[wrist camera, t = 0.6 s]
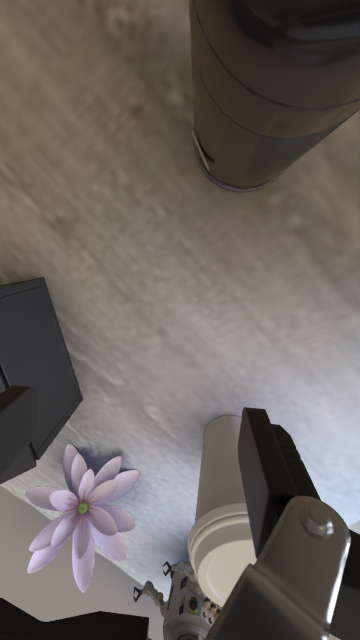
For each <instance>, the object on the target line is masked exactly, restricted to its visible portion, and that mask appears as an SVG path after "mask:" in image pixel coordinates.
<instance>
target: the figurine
mask: <svg viewBox="0 0 360 640" xmlns="http://www.w3.org/2000/svg"><path fill="white" fill-rule="evenodd" d="M166 564H167V566H168V568H169V569H168V570H167V572H166V573H165V572H164V571H163V572H164V575H165V576H166V575H167V574H168V573H169V572H170V571H171V579H172V584H171V590H170V594H169V599H168V601H166V602H165V603H164V601H163V594H162V593H161V592H159V593H158V591H157V590H156V589H155V588H154V586H153V584H152V582H150V581H147V582H146V584H145V586H144V588H143V589H142V590H139V589H137V588H136V587H134V593H135V590H136V591H137V592H138V593H139V594H138V596H137V598H135V597H134V596H133V597H134V600H135V602H136V601H137V600H138V598H139V597H140V595H143V594H145V593H146V594H147V595H148V596H151V598H152V599H153V600H154V603H155V605H156V606H159V607H160V608H161V609H160V610H161V614H162V616H163V617H164V623H163V636H164V640H204V639H205V637H206V635H207V634H208V632H209V630H210V628H211V627H212V625H213V623H214V621H215V620H216V618H217V616H218V614H219V613H220V611H221V609H222V607H221V606H219V605H217V604H216V603H214V602H213V601H211V600H210V599H209V598H208V597H207V596H206V595H205V594H204V592H203V591H202V589H201V587H200V585H199V582H198V578H197V576H196V574H195V572H194V570H193V568H192V565H191V562H190V561H187V562H186V563H185V562H184V561H180V562H179V563H178V565H176V566H174V565H173V566H172V567H171V566H170V564H169V563H168V562H166V563H165V564H164V565H163V566H165V565H166Z"/></svg>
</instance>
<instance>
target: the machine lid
mask: <svg viewBox="0 0 360 640" xmlns="http://www.w3.org/2000/svg"><path fill="white" fill-rule="evenodd" d="M6 389H7V388H6V386H5V383H4V381H3V378H2V376H1V373H0V394H1V393H2V392H3V391H5V390H6ZM34 467H36V460H35V458H34V455H33V453H32V450H31V448H30V445H28V446H27V447H26V448H25V449H24V451H23V452H22V453H21V454H20V455H19V457H18V458H17V459H16V460H15V461H14V462H13V464H12V465H11V466H10V467H9V468H8V470H7V471H6V472H5V473H4V474H3V476H2V477H1V478H0V484H2V483H4V482H6V481H8V480H10V479H12V478H14V477H16V476H18V475H20V474H22V473H24V472H26V471H28V470H30V469H32V468H34Z"/></svg>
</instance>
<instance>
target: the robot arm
mask: <svg viewBox="0 0 360 640" xmlns="http://www.w3.org/2000/svg"><path fill="white" fill-rule="evenodd" d="M189 18H190V34H191V58H192V82H193V105H194V133H193V130H192V136H193V138H194V148H195V153H196V157H197V160H198V162H199V165H200V166H201V168H202V170H203V171H204V173H205V174H206V175H207V177H208V178H209V179H210V180H211V181H212V182H214V183H215V184H216V185H218V186H220V187H222V188H224V189H226V190H229V191H233V192H249V191H254V190H257V189H260V188H262V187H264V186H266V185H268V184H269V183H271V182H272V181H273V180H275V179H276V178H277V177H278V176H280V175H281V174H282V173H283V172H284V170H286V169H287V168H288V167H289V166H291V165H292V164H293V163H294V162H296V161H297V160H298V159H299V158H300V157H302V156H303V155H304V154H305V153H307V152H308V151H309V150H310V149H312V148H313V147H314V146H315V145H316V144H318V143H319V142H320V141H321V140H323V139H324V138H325V137H326V136H328V135H329V134H330V133H331V132H333V131H334V130H335V129H336V128H337V127H339V126H340V125H341V124H342V123H344V122H345V121H346V120H347V119H349V118H350V117H351V116H352V115H353V114H355V113H356V112H357V111H358V110H360V0H189ZM38 427H39V414H38V404H37V394H36V390H35V388H34V387H28V386H17V385H12V386H10V387H9V388H7V389H6V390H5V391H3V392H2V393H1V394H0V478H1V477H2V476H3V474H4V473H5V472H6V471H7V470H8V468H9V467H10V466H11V465H12V464H13V462H14V461H15V460H16V459H17V458H18V457H19V455H20V454H21V453H22V452H23V451H24V449H25V448H26V447H27V446H28V445H29V443H30V442H31V441H32V440H33V439H34V437H35V435H36V433H37V431H38ZM238 461H239V467H240V473H241V478H242V484H243V489H244V495H245V500H246V506H247V512H248V517H249V523H250V528H251V534H252V539H253V545H254V551H255V556H256V559H257V561H256V562H255V564H254V565H252V564H251V563H250V564H248V565H247V566H246V568H245V569H244V571H243V572H242V574H241V576H240V577H239V579H238V581H237V583H236V584H235V586H234V588H233V590H232V591H231V593H230V595H229V597H228V598H227V600H226V602H225V604H224V606H223V607H222V609H221V611H220V613H219V614H218V616H217V618H216V620H215V621H214V623H213V625H212V627H211V628H210V630H209V632H208V634H207V635H206V637H205V639H204V640H328V638H329V633H330V634H331V635H333V636H335V637H337V638H339V639H341V640H360V534H358V533H356V532H353V531H352V530H350V529H348V527H347V525H346V523H345V522H344V520H343V519H342V518H341V516H340V515H339V514H338V513H337V512H336V511H335V510H334V509H333V508H331V507H330V506H329V505H327V504H326V503H324V502H322V501H321V499H320V497H319V495H318V493H317V491H316V489H315V487H314V485H313V482H312V480H311V478H310V476H309V474H308V472H307V470H306V468H305V465H304V463H303V461H302V460H301V457H300V455H299V453H298V451H297V450H296V446H295V444H294V442H293V440H292V438H291V436H290V435H289V434H288V433H287V432H286V431H285V430H284V429H283V428H282V427H281V426H280V425H275V424H271V423H270V420H269V418H268V415H267V413H266V410H265V409H257V408H246V407H244V409H243V412H242V419H241V426H240V432H239V439H238ZM148 628H149V618H148V617H141V616H133V615H126V614H118V613H110V612H103V611H98V612H94V613H89V614H84V615H79V616H75V617H69V618H64V619H60V620H55V621H50V622H42V621H40V620H38V619H36V618H34V617H33V616H31V615H29V614H28V613H26V612H24V611H23V610H21V609H19V608H18V607H16V606H14V605H12V604H11V603H9V602H8V601H6V600H4V599H3V598H0V640H151V639H150V638H148Z"/></svg>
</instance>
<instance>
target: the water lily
mask: <svg viewBox="0 0 360 640" xmlns="http://www.w3.org/2000/svg"><path fill="white" fill-rule="evenodd" d="M120 466H121V456H118V457H115V458H113V459H111V460H110V461H109V462H107V463H106V464H105V465H104V466H103V467H102V468H101V470H100V471H99V472H98V474H97V475H96V476H94V472H93V471H92V469H88V470H87V466H86V463H85V460H84V459H83V457H82V456H81V455H80V454H79V453H78V451H77V450H76V448H75V447H74V446H73V445H71V444H68V445H67V446H66V449H65V452H64V457H63V468H64V474H65V479H66V482H67V485H68V487H69V490H70V491H67V490H62V489H58V488H54V487H48V486H39V487H34V488H31V489H28V490H27V491H26V496H27V498H28V499H29V500H30V501H31V502H32V503H33V504H34V505H36V506H38V507H40V508H43V509H47V510H53V511H64V512H63V513H65V512H68V511H70V512H68V513H65V514H63V515H61V516H59V517H58V518H56V519H55V520H53V521H52V522H51V523H50V524H48V525H47V526H46V527H45V528H44V529H43V530H42V531H41V532H40V533H39V534H38V535H37V536H36V537H35V539H34V540H33V542H32V543H31V545H30V547H29V551H32V552H34V551H35V552H34V554H33V556H32V558H31V560H30V563H29V566H28V571H27V572H28V573H29V574H30V573H33V572H36V571H38V570H40V569H41V568H43V567H44V566H46V565H47V564H48V563H49V562H50V561H51V560H52V559H53V558H54V557H55V556H56V555H57V554H58V553H59V551H60V550H61V549H62V548H63V546H64V545H65V544H66V542H67V541H68V539H69V537H70V536H71V535H72V533H73V532H74V533H73V545H72V563H73V564H72V565H73V573H74V577H75V581H76V583H77V585H78V587H79V589H80V590H81V591H82V592H85V591H86V590H87V588H88V586H89V584H90V581H91V578H92V574H93V568H94V541H95V543H96V544H97V545H98V547H99V548H100V549H101V550H102V551H103V552H104V553H105V554H106V555H107V556H109V557H110V558H112V559H114V560H117V561H126V560H127V558H128V551H127V546H126V543H125V540H124V538H123V536H122V534H121V533H120V532H127V531H130V530H132V529H134V528H135V527H136V522H135V520H134V518H133V517H132V516H131V515H130V514H129V513H128V512H127V511H126V510H124V509H122V508H119V507H117V506H114V505H106V504H109V503H111V502H113V501H115V500H117V499H118V498H120V497H121V496H123V495H124V494H125V493H127V492H128V491H129V490H130V489H131V488H132V487H133V485H134V484H135V483H136V481H137V479H138V477H139V471H136V470H129V471H125V472H122V473H120V474H118V472H119V469H120ZM117 474H118V475H117ZM75 509H76V510H75ZM72 510H73V511H72Z"/></svg>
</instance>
